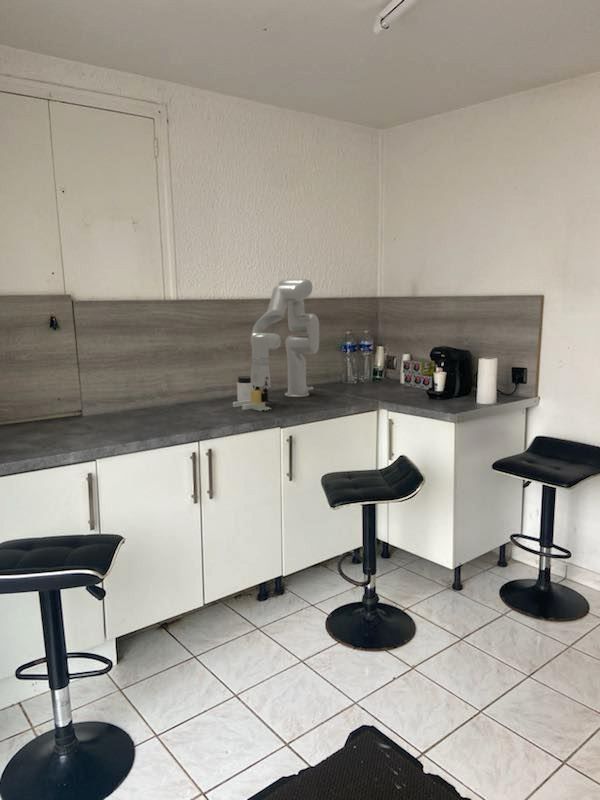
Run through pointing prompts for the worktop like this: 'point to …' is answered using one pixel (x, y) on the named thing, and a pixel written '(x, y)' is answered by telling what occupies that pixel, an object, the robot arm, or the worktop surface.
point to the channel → (247, 404)
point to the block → (256, 396)
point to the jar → (244, 388)
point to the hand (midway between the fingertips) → (261, 400)
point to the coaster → (261, 408)
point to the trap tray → (270, 403)
